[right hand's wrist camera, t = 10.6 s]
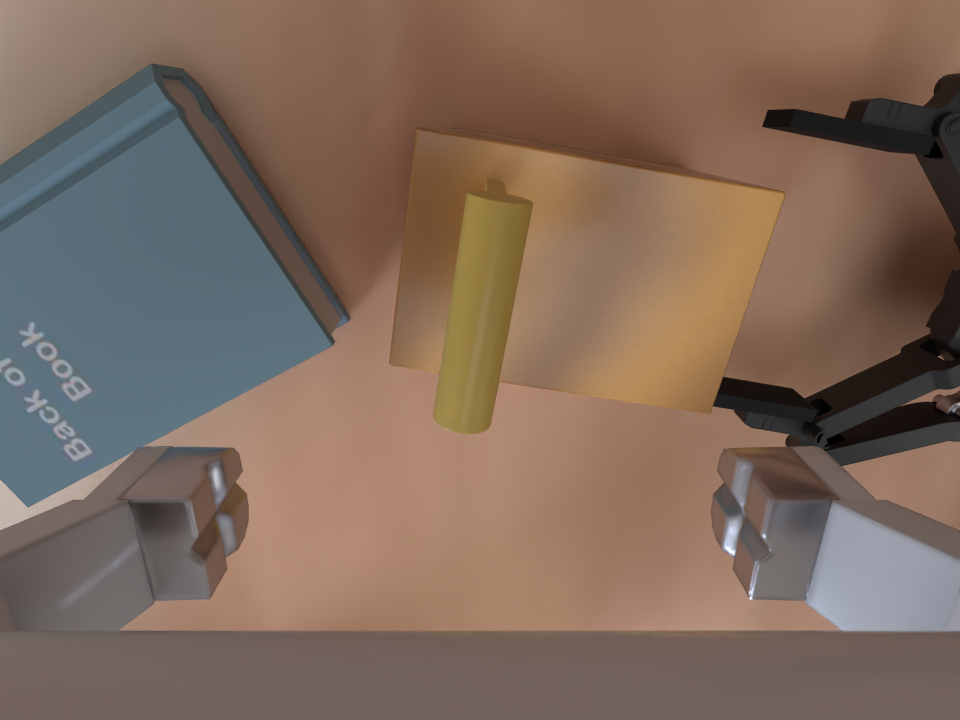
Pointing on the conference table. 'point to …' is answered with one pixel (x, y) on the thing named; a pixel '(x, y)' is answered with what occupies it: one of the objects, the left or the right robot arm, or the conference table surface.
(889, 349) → the conference table surface
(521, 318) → the lid
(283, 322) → the book
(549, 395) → the conference table surface
